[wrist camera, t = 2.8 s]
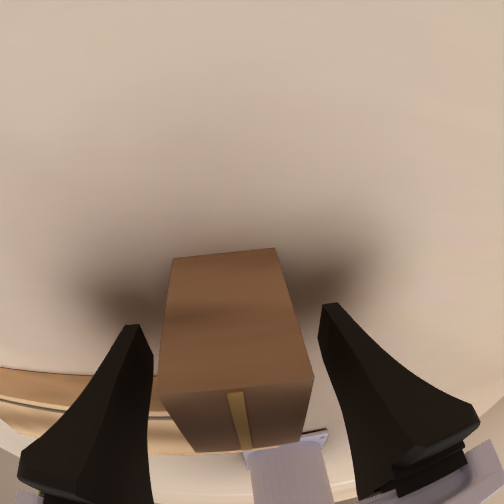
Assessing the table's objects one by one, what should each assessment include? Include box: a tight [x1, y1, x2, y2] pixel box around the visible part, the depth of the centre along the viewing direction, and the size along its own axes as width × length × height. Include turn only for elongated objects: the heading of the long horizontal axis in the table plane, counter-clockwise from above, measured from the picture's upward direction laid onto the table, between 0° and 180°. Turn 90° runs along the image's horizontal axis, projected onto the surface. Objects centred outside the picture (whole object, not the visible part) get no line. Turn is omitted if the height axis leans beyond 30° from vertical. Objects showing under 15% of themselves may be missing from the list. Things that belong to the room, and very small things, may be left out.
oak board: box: [0, 368, 279, 455], centre depth 17 cm, size 8×24×2 cm, turn 93°
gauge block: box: [156, 248, 314, 453], centre depth 11 cm, size 7×4×6 cm, turn 3°
